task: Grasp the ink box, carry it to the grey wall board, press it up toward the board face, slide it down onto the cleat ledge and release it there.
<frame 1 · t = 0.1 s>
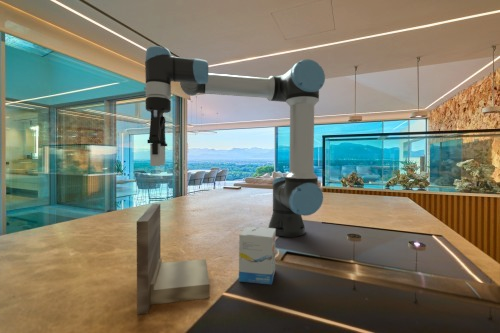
hand: (158, 165, 80), 28 cm above the worktop, fingers open, 13 cm apart
ink box: (257, 276, 65), on the worktop
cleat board: (177, 285, 59), on the worktop
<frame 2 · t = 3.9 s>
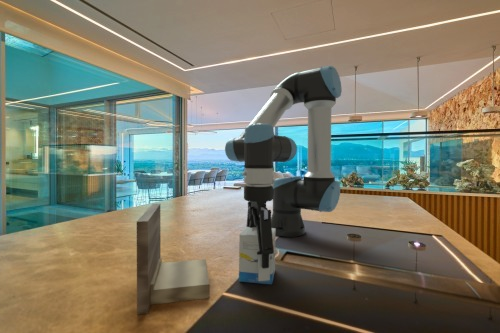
hand: (257, 269, 65), 1 cm above the worktop, fingers closed on ink box, 11 cm apart
ink box: (257, 276, 65), on the worktop, touching gripper
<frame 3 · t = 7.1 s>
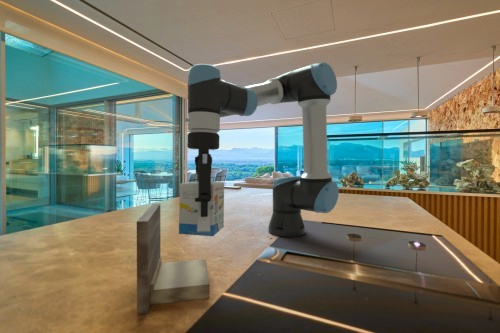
hand: (202, 224, 60), 14 cm above the worktop, fingers closed on ink box, 11 cm apart
ink box: (202, 231, 60), point 13 cm above the worktop, touching gripper
when the fingers open (5 cm above the worktop, at t = 10.4 s): ink box stays where it is, resting on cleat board.
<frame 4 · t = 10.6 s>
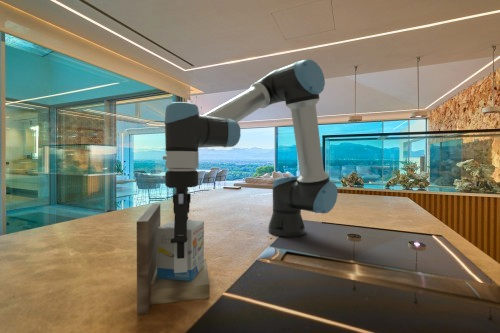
hand: (182, 259, 60), 6 cm above the worktop, fingers open, 13 cm apart
ink box: (182, 272, 60), point 3 cm above the worktop, touching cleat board
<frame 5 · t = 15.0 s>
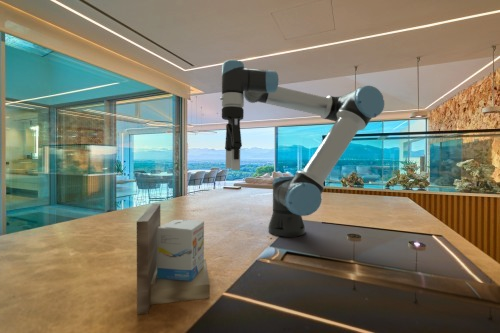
hand: (232, 169, 87), 27 cm above the worktop, fingers open, 13 cm apart
nothing on the worktop moved.
at the end: ink box inside the target area (0.8 cm from its centre), point 2.8 cm above the worktop; ink box tilted 0°; the gripper is holding nothing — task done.
